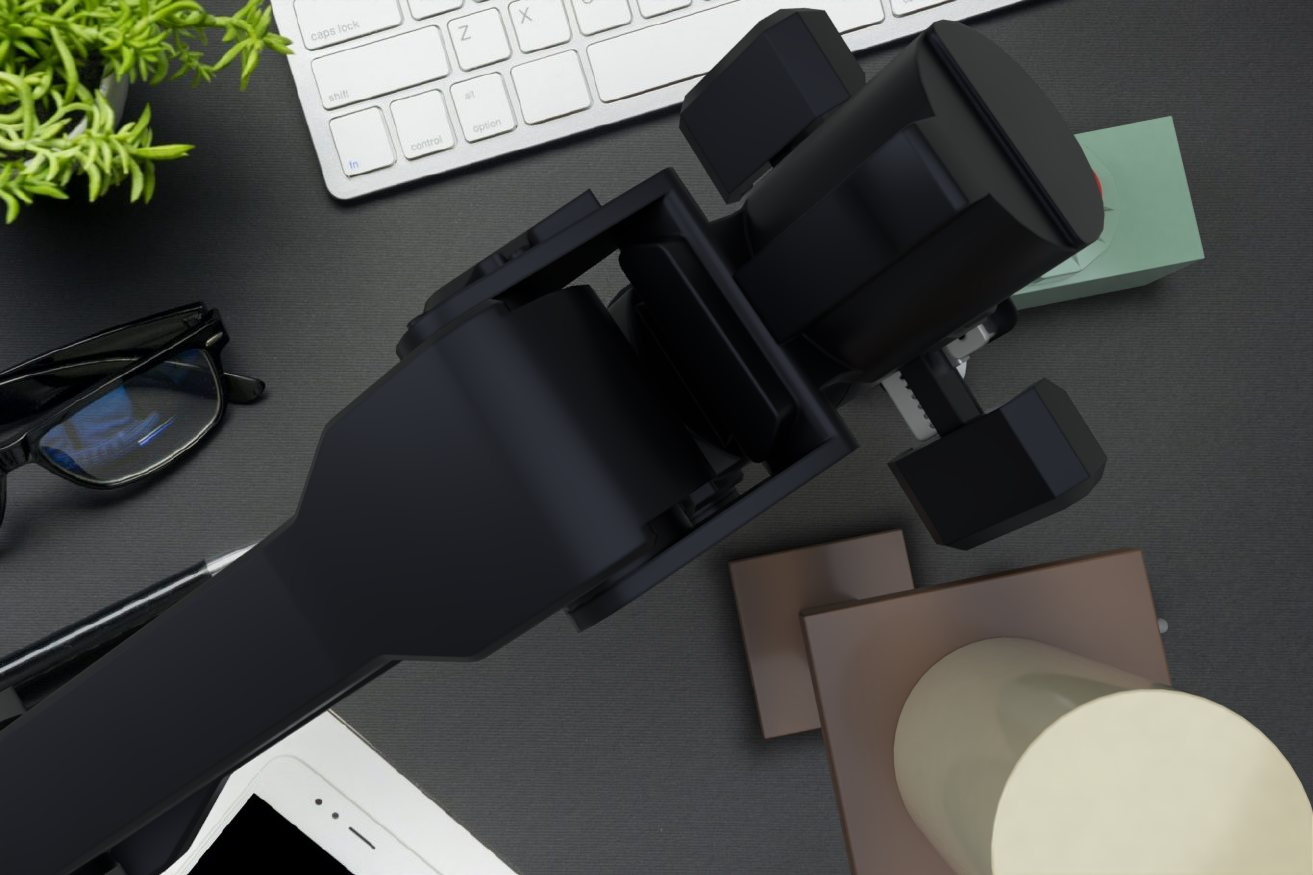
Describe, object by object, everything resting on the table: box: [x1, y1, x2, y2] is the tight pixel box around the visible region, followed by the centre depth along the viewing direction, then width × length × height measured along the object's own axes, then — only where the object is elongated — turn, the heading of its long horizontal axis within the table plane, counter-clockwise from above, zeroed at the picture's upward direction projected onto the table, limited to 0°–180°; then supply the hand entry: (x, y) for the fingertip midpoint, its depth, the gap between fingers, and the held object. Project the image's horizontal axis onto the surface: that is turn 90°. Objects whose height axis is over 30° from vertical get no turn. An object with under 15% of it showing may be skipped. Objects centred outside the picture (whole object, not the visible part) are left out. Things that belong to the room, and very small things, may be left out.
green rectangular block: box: [1010, 115, 1206, 311], centre depth 53 cm, size 11×7×8 cm, turn 101°
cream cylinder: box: [894, 637, 1313, 875], centre depth 23 cm, size 6×6×8 cm
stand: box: [727, 528, 1173, 875], centre depth 41 cm, size 9×9×28 cm
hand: (974, 240), depth 43 cm, fingers closed
